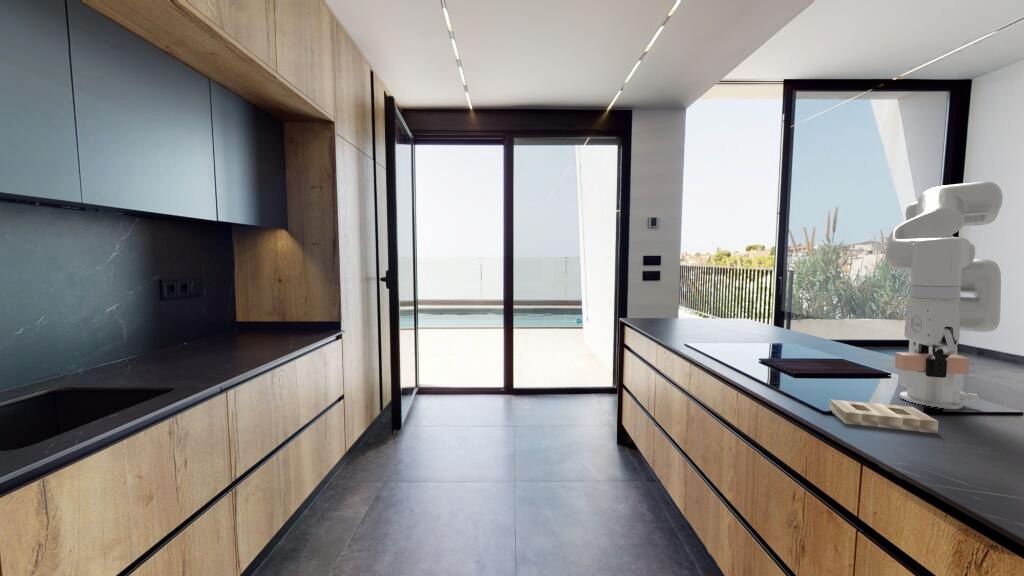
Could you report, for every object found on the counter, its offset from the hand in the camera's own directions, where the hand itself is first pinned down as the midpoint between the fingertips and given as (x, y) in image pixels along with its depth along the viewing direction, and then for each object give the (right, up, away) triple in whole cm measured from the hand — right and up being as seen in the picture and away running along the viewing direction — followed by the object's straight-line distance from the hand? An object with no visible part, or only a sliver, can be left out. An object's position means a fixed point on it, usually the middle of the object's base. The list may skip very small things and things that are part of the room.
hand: (930, 373), depth 86 cm
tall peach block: (0, -3, 0) cm, 3 cm away
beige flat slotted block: (+2, -16, +14) cm, 21 cm away
